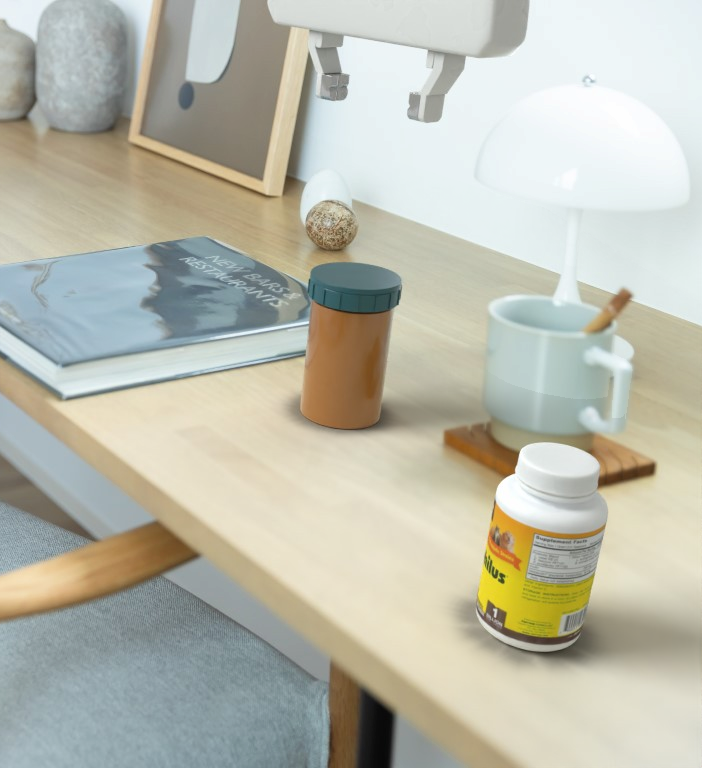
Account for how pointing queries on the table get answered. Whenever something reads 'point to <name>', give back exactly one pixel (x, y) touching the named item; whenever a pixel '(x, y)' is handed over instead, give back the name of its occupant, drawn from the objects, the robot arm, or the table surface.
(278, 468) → the table surface
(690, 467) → the table surface
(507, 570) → the supplement bottle
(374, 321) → the jar
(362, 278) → the lid
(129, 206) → the table surface
